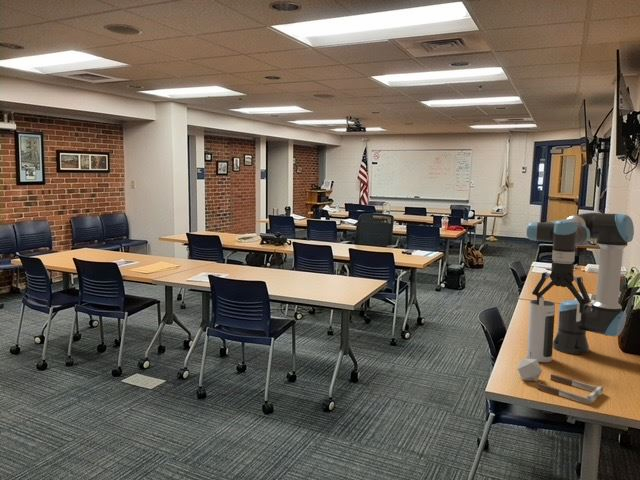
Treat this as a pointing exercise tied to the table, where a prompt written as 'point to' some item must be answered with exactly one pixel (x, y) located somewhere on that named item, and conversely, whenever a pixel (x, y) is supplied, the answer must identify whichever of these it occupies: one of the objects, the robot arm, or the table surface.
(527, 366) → the die
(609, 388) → the table surface
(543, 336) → the speaker
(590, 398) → the grey brown u-shaped frame
